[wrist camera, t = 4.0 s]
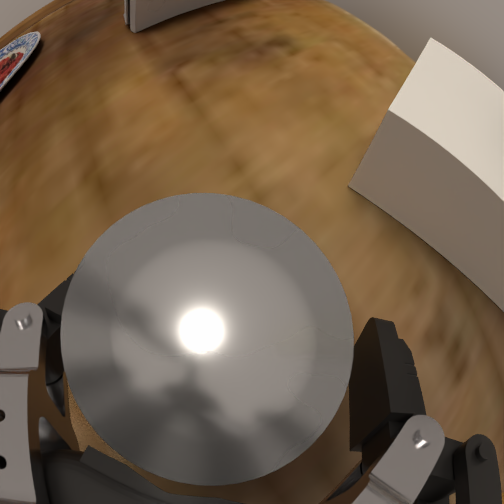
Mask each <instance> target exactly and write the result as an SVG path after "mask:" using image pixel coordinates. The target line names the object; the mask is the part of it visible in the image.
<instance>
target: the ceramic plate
mask: <svg viewBox="0 0 504 504" xmlns="http://www.w3.org/2000/svg"><path fill="white" fill-rule="evenodd" d="M40 38H41V35H40V33H39V32H32V33H28V34H26V35H24V36H22V37H20V38H18V39H16V40H15V41H13V42H11V43H10V44H8V45H7V46H6V47H4V48H3V49H1V50H0V92H1V91H2V89H3V88H4V87H5V86H6V85H7V83H8V82H9V81H10V80H11V78H12V77H13V76H14V74H15V73H16V72H17V71H18V70H19V69H20V67H21V66H22V65H23V64H24V62H25V61H26V60H27V59H28V57H29V56H30V55H31V53H32V52H33V51H34V49H35V48H36V46H37V44H38V43H39V41H40Z"/></svg>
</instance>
